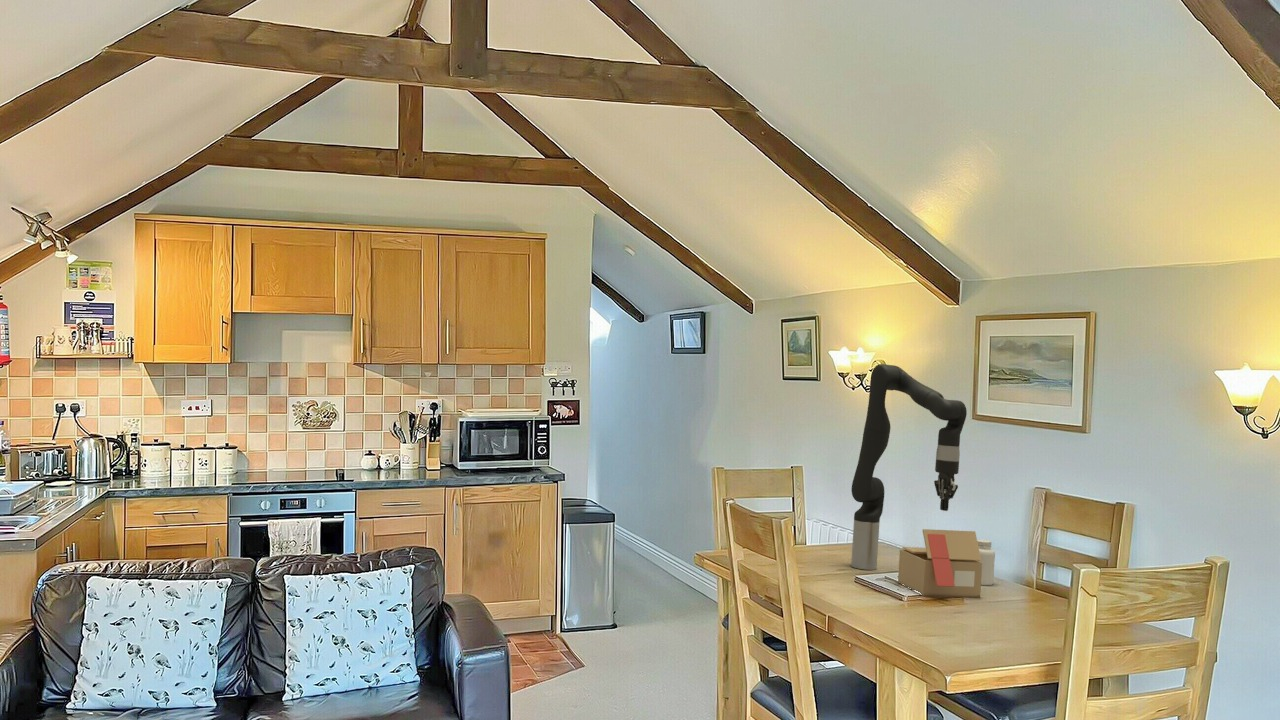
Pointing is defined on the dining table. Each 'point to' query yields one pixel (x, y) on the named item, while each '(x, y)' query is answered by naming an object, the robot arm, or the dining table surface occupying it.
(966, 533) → the flap
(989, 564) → the pill bottle
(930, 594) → the carton
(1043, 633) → the dining table surface
